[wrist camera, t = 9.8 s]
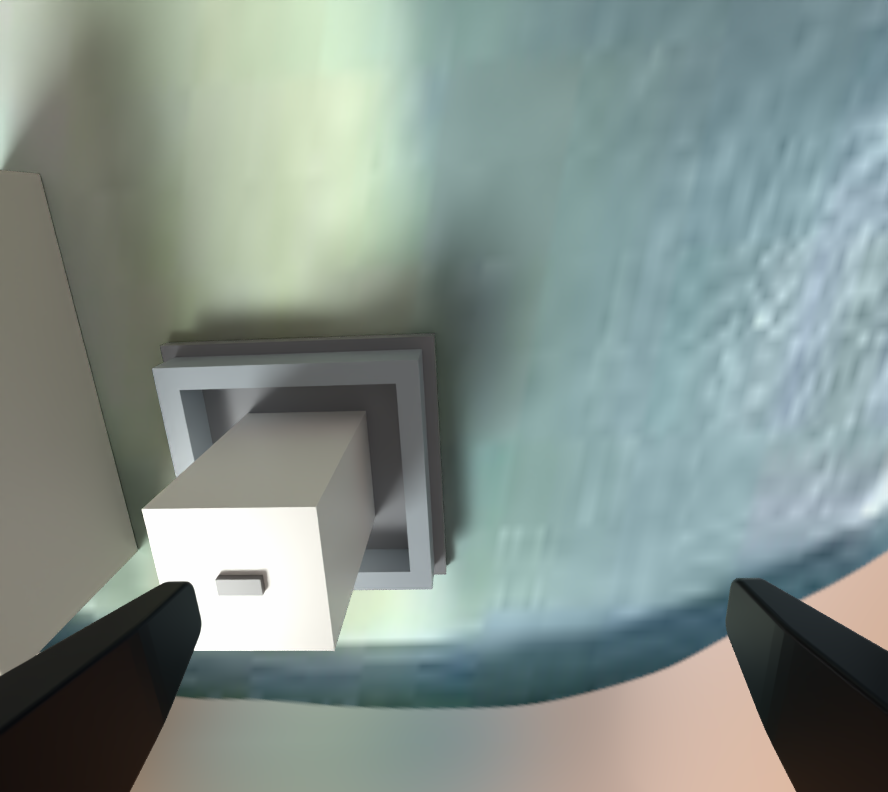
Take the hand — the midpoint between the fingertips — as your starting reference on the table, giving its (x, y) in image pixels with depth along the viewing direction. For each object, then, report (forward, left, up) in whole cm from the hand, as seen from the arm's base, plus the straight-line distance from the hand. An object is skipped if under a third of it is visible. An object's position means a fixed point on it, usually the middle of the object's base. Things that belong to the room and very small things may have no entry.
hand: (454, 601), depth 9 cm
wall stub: (+15, -1, -12) cm, 19 cm away
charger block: (+6, +3, -11) cm, 13 cm away
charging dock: (+6, +3, -12) cm, 14 cm away
